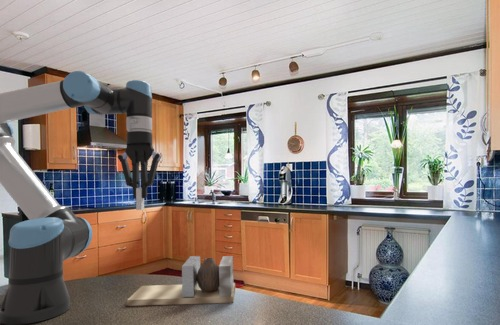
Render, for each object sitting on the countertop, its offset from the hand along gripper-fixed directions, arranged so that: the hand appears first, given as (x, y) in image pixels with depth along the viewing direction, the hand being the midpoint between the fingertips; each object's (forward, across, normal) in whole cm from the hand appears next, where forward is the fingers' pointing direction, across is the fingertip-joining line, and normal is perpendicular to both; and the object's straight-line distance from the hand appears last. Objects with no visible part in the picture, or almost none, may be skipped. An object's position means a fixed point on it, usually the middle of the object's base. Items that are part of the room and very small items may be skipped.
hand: (140, 209), depth 99 cm
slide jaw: (+23, +16, -5) cm, 28 cm away
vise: (+24, +14, -5) cm, 29 cm away
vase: (+23, +21, -5) cm, 32 cm away
